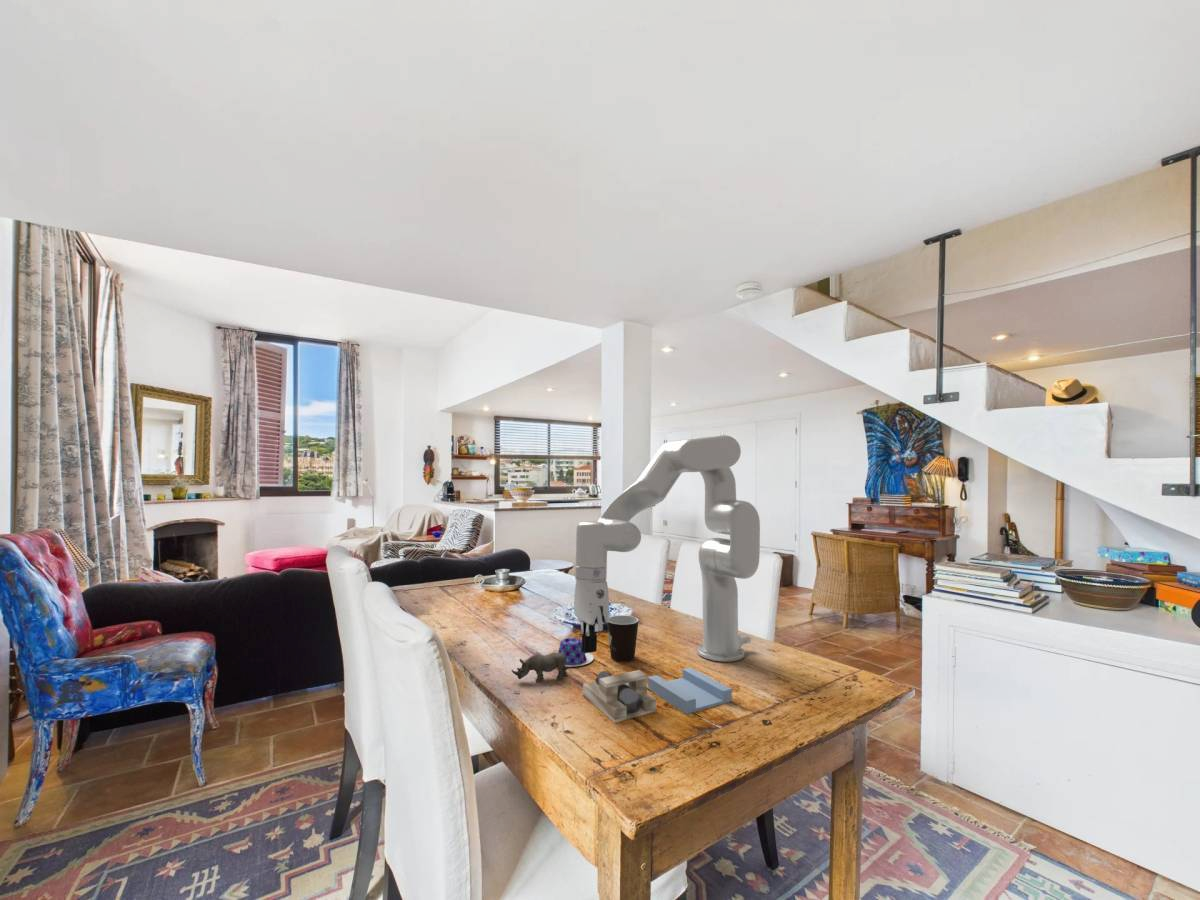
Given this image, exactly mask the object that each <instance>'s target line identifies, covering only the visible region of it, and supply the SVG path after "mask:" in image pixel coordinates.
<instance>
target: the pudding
mask: <svg viewBox="0 0 1200 900" xmlns="http://www.w3.org/2000/svg"><path fill="white" fill-rule="evenodd" d="M558 647H559V648H558V651H556V652H555V653H558V652H561V653H562V654H564V655H565V657H566V663H565V666H566V667H570V666H572V667H579V666H585V665H587V664H590V663H592V662H593V661H594V658H595V657H594V655H593V654H592V653H584V652H583V651H582V639H580V638H577V637H567V638H563V639H562V640H561V641H560V643H559V646H558Z"/></svg>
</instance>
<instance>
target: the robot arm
mask: <svg viewBox="0 0 1200 900" xmlns="http://www.w3.org/2000/svg"><path fill="white" fill-rule="evenodd" d="M741 450H742V449H741V445H740V443H739V441H737V440H736V439H735V438H734V437H733V436H731V435H725V434H724V435H715V436H704V437H703V436H702V437H697V438H688V439H678V440H670V441H666V442H665V443H663V444H662V445H661V446H660V447H659V448H658V450H657V451H656V452H655V454H654V455H653V457H652V459H651V460H650V461H649V462H648V464H647V465H646V467H645V468H644V470H643V471H642V472H641V474H640V475H639V477H638V478H637V480H635V482H633V483H632V484H631V485H630V486H628V487H627V488H626V489H625V490H624V491H623V492H622V493H620V494H619V495H617V497H616V498H614V499H613V500H612V501H611V502H610V504H609V505H608V506H607V507H606V508H605V510H604V512H603V513H602V514H601V516H600V517H599V518H598V520H595V521H594V520H587V521H586V520H585V521H580V522H579V523H577V527H576V538H575V539H576V540H575V543H576V544H575V545H576V546H575V571H574V572H575V574H574V577H575V578H574V579H575V587H574V588H575V590H574V598H573V599H574V601H573V603H574V604H573V610H574V611H573V613H574V616H575V617H576V618H577V621H578V622H579V623H580V632H581V634H582V635H581V641H582V651H583V652H584V653H590V654H592V653H595V652H597V648H598V647H597V646H598V635H599V632H603V631H604V627H603V626H604V625H603V624H605V625H607V623H608V622H609V617H610V599H609V598H610V597H609V588H608V587H609V586H608V581H607V577H608V576H607V575H608V574H607V573H608V572H607V570H608V568H607V566H608V552H616V553H617V552H619V553H628V552H631V551H634V550H636V548H638V547H639V545H640V544H641V540H642V534H641V530H640V528H638V526H637V525H636V524H634V523H633V522H630V521H631V519H633V518H634V517H635V516H636V515H638V514H640V512H642V511H644V510H647V509H650V508H652V507H655V506H657V505H658V504H660V503H662V502H663V501H664V500H665V499H666V497H667V496H668V494H669V493H670V491H671V490H672V488H673V486H674V485H675V484H676V482H677V480H679V478H680V476H681V475H682V474H683V473H697V472H698V473H700V474H701V476H702V479H703V483H704V523H705V526H706V529H708V530H709V531H711V532H713V533H716V534H717V533H718V534H722V535H727V536H729V539H728V538H722V537H712V538H711V537H710V538H709V539H706V540H704V541H703V542H702V543H701V545H700V546H699V551H698V562H699V568H700V572H701V584H702V587H701V588H702V643H701V644H699V645H698V646H697V651H696V652H697V653H698V655H699V656H700V657H702V658H704V659H706V660H711V661H715V662H725V663H726V662H727V663H729V662H737V661H740V660H742V659H743V658H744V657H745V650H744V649H743V648H742V646H743V645H745V644H746V645H747V644H750V643H751V641H752V639H751V637H750V636H749V635H745V636H741V635H739V604H738V603H739V599H738V598H739V594H738V593H739V592H738V586H737V585H738V584H737V582H736V579H745V580H746V579H749V578H752V577H753V576H754V575H755V574H756V572H757V570H758V568H759V564H760V553H761V551H760V549H761V544H760V543H761V522H760V521H761V520H760V515H759V512H758V510H757V508H756V507H755V505H753V504H752V503H750V502H749V501H745V500H742V499H741V500H739V499H737V487H736V486H737V485H736V478H735V475H734V473H733V471H732V469H731V467H732V466H734V465H736V463H738V462H739V459H740V458H741V453H742V452H741Z"/></svg>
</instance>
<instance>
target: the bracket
mask: <svg viewBox="0 0 1200 900" xmlns="http://www.w3.org/2000/svg"><path fill="white" fill-rule="evenodd" d="M612 675H613V674H612ZM621 684H626V685H627V686H629V687H630V688H631V689H633V690H634V691H636V692H637V693H639V694H640V695H641V697H642V705H641V707H640V709H639V710H638V711H637V712H635V713H630V712H628V711H627V710H626V706H625V705H623V704H622V703H621V702H620V701H618V685H621ZM647 690H648V674H647V673H645V672H644V671H642V670H640V669H637V670H633V671H627V672H623V673H619V674H614V675H613V676H609V677H604V678H600V679H599V685H597V684H596V681H591V682H586V683H583V684H582V696H583V697H584V698H585V699H587V700H588V702H590V703H591V704H593V706H595V707H596V708H597V709H598V710H599V711H601V713H603V714H604V715H605V716H606V717H608V718H609V720H611V721H612V722H613V723H619V722H622V721H626V720H630V719H633V718H636V717H640V716H644V715H648V714H651V713H655V712H657V698H656V697H654V696H652V695H651V694H650V693H648V691H647Z"/></svg>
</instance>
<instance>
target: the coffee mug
mask: <svg viewBox="0 0 1200 900" xmlns="http://www.w3.org/2000/svg"><path fill="white" fill-rule="evenodd" d="M606 625H607V634H608V644H609V653H610V659H612V661H616V662H622V663H625V662H626V663H627V662H630V661H633V660H635V657H636V649H637V648H636V647H637V638H638V628H639V619H638V618H637V617H635V616H631V615H622V614H621V615H612V616H609V622H608V623H606Z"/></svg>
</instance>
